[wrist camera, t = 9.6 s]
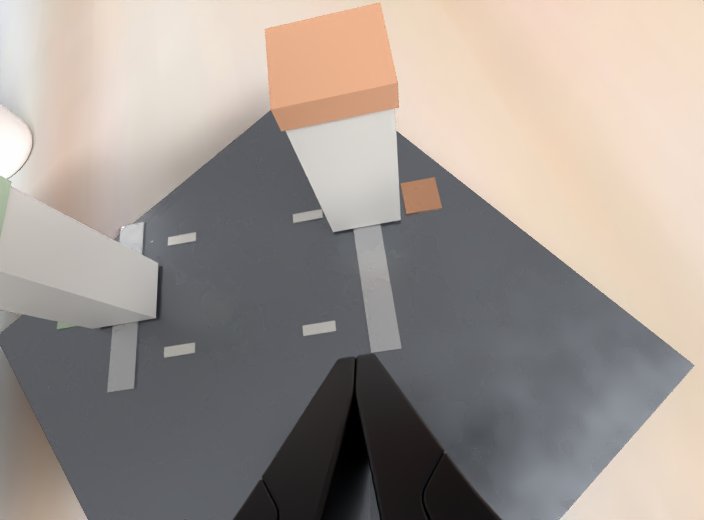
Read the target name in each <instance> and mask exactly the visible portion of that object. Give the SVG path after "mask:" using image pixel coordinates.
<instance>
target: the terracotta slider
mask: <svg viewBox="0 0 704 520" xmlns="http://www.w3.org/2000/svg"><path fill="white" fill-rule="evenodd" d="M265 38H266V52H267V66H268V80H269V94H270V107H271V111H272V113H273V115H274V117H275V120H276V122H277V124H278V126H279V128H280V130H281V132H282V131H286V133H287V135H288V137H289V139H290V142H291V144H292V146H293V148H294V150H295V152H296V154H297V156H298V159H299V161H300V163H301V165H302V167H303V169H304V171H305V173H306V176H307V178H308V180H309V182H310V184H311V186H312V188H313V190H314V193H315V195H316V197H317V199H318V201H319V203H320V205H321V207H322V210H323V212H324V214H325V216H326V218H327V220H328V222H329V224H330V227H331V229H332V231H333V232H337V231H342V230H348V229H353V228H359V227H364V226H370V225H376V224H381V223H387V222H392V221H398V220H401V215H400V195H399V176H398V156H397V136H396V116H395V108H399V100H398V81H397V77H396V72H395V68H394V63H393V59H392V54H391V49H390V45H389V40H388V36H387V31H386V27H385V22H384V18H383V13H382V8H381V4H380V3H376V4H372V5H367V6H363V7H359V8H354V9H350V10H346V11H341V12H337V13H332V14H328V15H324V16H319V17H315V18H311V19H306V20H302V21H298V22H293V23H289V24H285V25H280V26H276V27H271V28H267V29H265Z"/></svg>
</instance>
